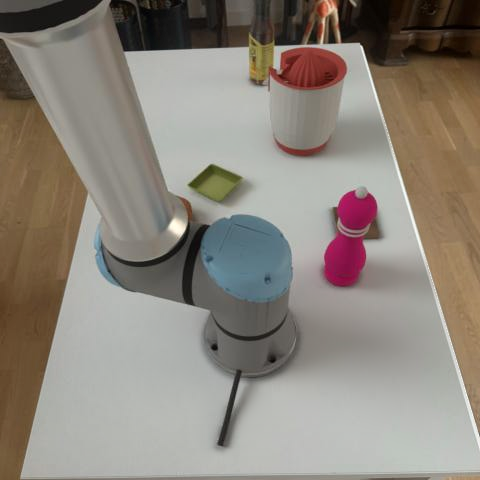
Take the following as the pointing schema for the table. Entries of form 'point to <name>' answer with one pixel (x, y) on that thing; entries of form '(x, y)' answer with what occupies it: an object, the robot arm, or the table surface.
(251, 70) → the sauce bottle
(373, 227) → the wooden coaster
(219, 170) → the olive green square tray
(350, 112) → the table surface
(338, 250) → the pepper mill
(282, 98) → the citrus juicer
